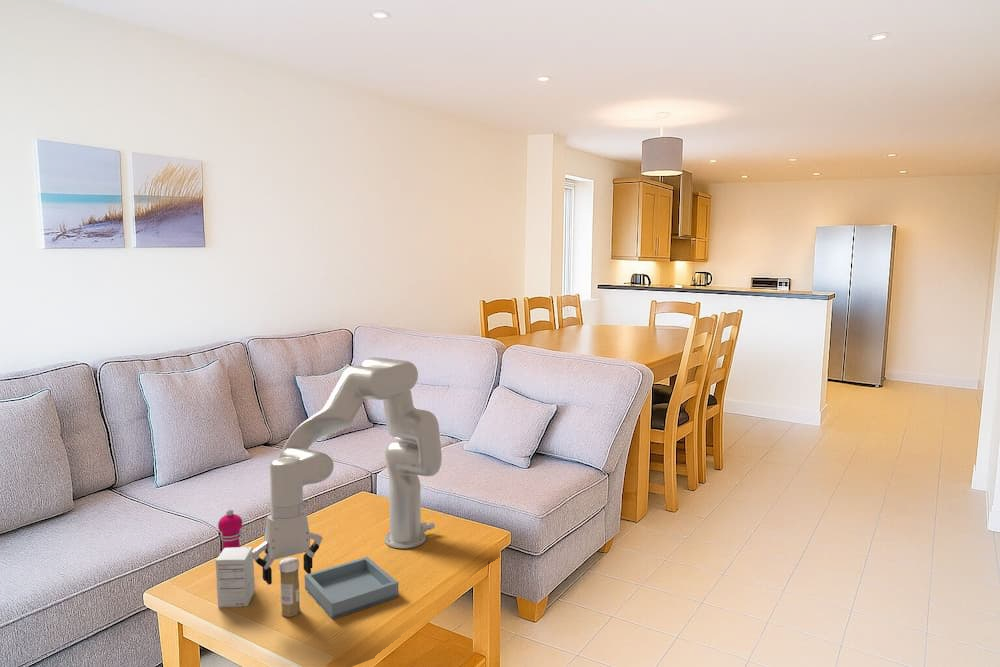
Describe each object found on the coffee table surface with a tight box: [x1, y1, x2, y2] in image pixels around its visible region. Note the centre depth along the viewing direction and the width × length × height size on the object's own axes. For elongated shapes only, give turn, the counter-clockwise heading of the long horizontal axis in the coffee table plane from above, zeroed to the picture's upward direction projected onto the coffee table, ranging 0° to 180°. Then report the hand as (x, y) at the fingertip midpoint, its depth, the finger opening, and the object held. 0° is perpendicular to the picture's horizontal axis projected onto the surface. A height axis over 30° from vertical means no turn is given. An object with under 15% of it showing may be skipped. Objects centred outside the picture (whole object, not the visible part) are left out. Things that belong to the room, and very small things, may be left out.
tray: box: [304, 556, 399, 620], centre depth 174 cm, size 18×18×4 cm
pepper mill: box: [217, 508, 243, 552], centre depth 179 cm, size 7×7×20 cm
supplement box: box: [215, 546, 256, 608], centre depth 169 cm, size 7×7×13 cm
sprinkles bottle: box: [278, 556, 301, 618], centre depth 163 cm, size 5×5×13 cm
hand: (288, 576), depth 163 cm, fingers open, 9 cm apart
